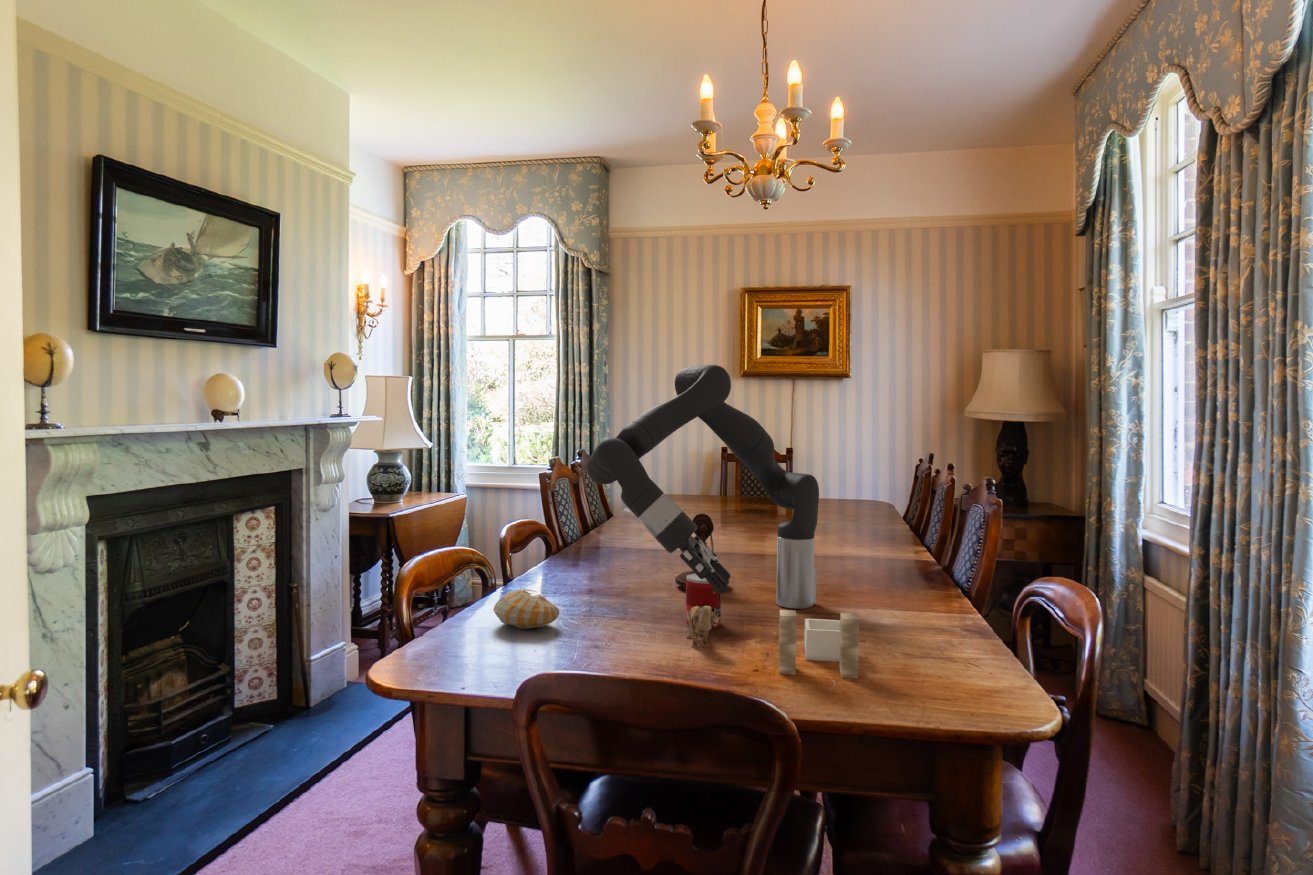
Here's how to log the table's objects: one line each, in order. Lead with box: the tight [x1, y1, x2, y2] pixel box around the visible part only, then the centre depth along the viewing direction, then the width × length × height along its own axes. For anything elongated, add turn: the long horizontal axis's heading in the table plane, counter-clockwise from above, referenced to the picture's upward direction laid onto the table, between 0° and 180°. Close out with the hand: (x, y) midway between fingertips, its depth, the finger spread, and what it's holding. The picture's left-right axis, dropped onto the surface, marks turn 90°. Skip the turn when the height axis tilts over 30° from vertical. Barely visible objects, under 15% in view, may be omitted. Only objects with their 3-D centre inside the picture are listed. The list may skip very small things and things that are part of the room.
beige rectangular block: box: [838, 612, 860, 680], centre depth 138 cm, size 3×4×11 cm
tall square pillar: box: [778, 609, 797, 676], centre depth 140 cm, size 3×4×11 cm
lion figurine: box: [685, 606, 720, 649], centre depth 157 cm, size 15×5×9 cm, turn 14°
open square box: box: [803, 618, 840, 663], centre depth 149 cm, size 8×8×6 cm
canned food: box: [685, 573, 722, 629], centre depth 169 cm, size 8×8×11 cm
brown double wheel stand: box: [674, 513, 730, 592], centre depth 203 cm, size 15×15×20 cm
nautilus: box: [492, 586, 560, 630], centre depth 169 cm, size 8×22×15 cm
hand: (726, 584), depth 141 cm, fingers open, 8 cm apart
